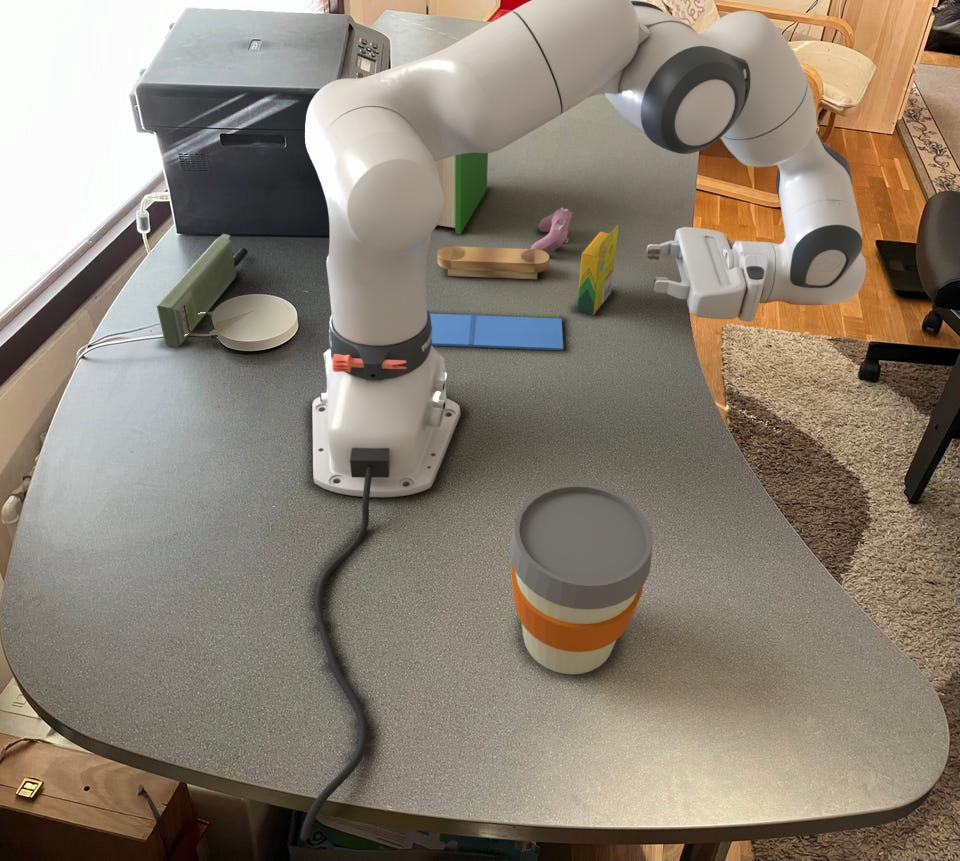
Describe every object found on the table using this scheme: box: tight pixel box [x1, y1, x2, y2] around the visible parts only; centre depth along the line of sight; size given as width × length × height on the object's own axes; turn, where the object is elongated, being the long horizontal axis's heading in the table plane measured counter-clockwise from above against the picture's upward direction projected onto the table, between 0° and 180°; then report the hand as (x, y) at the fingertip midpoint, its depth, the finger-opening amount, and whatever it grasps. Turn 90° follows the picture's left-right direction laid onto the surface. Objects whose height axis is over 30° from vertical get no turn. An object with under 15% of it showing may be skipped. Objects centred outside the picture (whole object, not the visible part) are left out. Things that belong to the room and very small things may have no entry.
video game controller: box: [530, 206, 574, 255], centre depth 143 cm, size 10×5×7 cm, turn 169°
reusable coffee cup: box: [509, 483, 653, 675], centre depth 81 cm, size 12×13×15 cm
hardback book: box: [435, 153, 489, 235], centre depth 146 cm, size 18×7×24 cm, turn 165°
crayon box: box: [576, 224, 619, 316], centre depth 128 cm, size 7×3×12 cm, turn 152°
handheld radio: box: [156, 233, 249, 348], centre depth 128 cm, size 7×3×25 cm
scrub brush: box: [436, 245, 550, 280], centre depth 137 cm, size 18×4×3 cm, turn 88°
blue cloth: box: [429, 312, 564, 351], centre depth 125 cm, size 8×20×1 cm, turn 88°
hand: (650, 267), depth 127 cm, fingers open, 8 cm apart
